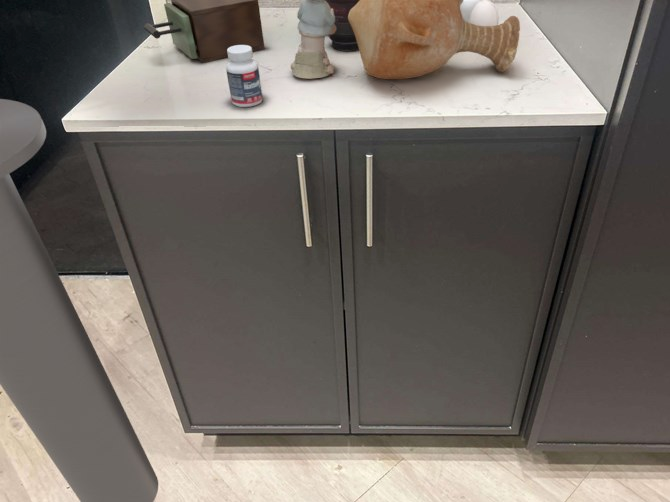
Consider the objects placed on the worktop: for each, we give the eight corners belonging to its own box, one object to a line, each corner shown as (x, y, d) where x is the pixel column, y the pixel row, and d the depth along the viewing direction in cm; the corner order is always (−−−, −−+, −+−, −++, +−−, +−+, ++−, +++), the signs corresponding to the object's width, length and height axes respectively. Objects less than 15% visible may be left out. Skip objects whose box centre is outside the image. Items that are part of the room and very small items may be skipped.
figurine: (332, 82, 104) (325, -41, 91) (287, 80, 105) (273, -42, 92) (341, 64, 110) (335, -53, 98) (299, 63, 111) (287, -53, 99)
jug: (340, -11, 108) (491, 0, 113) (341, 91, 109) (490, 97, 114) (356, -69, 88) (537, -53, 93) (357, 56, 89) (536, 65, 94)
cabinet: (202, 63, 113) (191, 11, 106) (181, 45, 121) (170, -4, 115) (264, 49, 118) (258, -1, 112) (240, 33, 126) (233, -14, 120)
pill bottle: (249, 110, 95) (240, 56, 89) (225, 104, 97) (215, 51, 92) (269, 99, 99) (262, 46, 93) (246, 93, 101) (237, 41, 95)
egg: (462, 36, 122) (465, -2, 117) (486, 32, 123) (490, -6, 119) (476, 45, 117) (480, 5, 112) (502, 41, 119) (507, 2, 114)
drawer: (164, 65, 110) (153, 22, 105) (147, 49, 117) (136, 8, 112) (250, 46, 117) (244, 5, 112) (229, 32, 124) (222, -7, 119)
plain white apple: (476, 28, 126) (480, -12, 121) (446, 24, 128) (448, -15, 123) (485, 19, 131) (489, -19, 126) (456, 16, 133) (459, -22, 128)
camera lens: (331, 54, 115) (326, -29, 105) (327, 41, 121) (322, -38, 112) (371, 51, 116) (369, -31, 106) (364, 38, 122) (362, -41, 112)
